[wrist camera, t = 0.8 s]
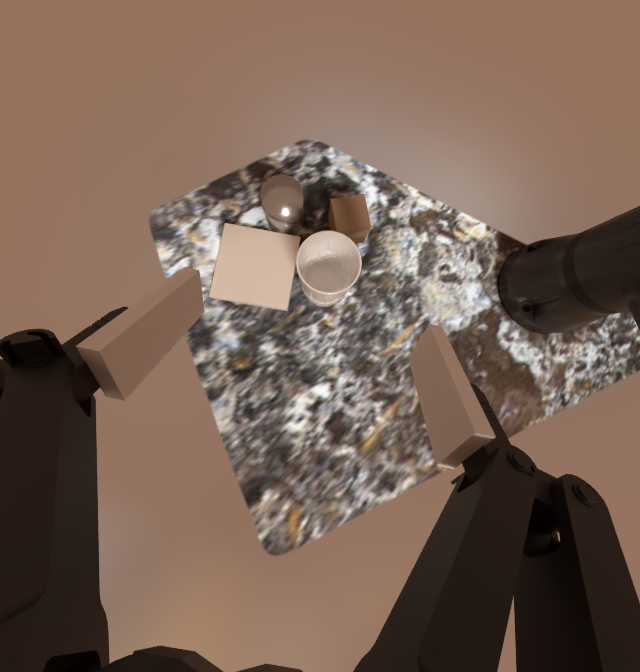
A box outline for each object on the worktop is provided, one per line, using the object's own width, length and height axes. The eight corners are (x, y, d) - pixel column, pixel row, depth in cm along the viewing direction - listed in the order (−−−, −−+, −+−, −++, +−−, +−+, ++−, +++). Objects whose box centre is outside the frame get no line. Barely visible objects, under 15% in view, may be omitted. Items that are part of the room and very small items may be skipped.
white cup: (290, 294, 38) (283, 271, 28) (315, 253, 39) (317, 218, 29) (332, 319, 38) (340, 306, 28) (357, 278, 39) (373, 251, 29)
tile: (300, 239, 39) (300, 236, 38) (287, 311, 38) (287, 310, 37) (227, 226, 39) (225, 222, 38) (211, 298, 38) (209, 296, 37)
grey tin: (306, 205, 40) (306, 179, 34) (300, 239, 39) (299, 218, 33) (270, 199, 40) (264, 170, 34) (264, 233, 39) (256, 210, 33)
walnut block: (357, 214, 40) (364, 193, 35) (363, 242, 40) (370, 226, 35) (327, 218, 40) (330, 198, 35) (333, 247, 40) (337, 231, 35)
